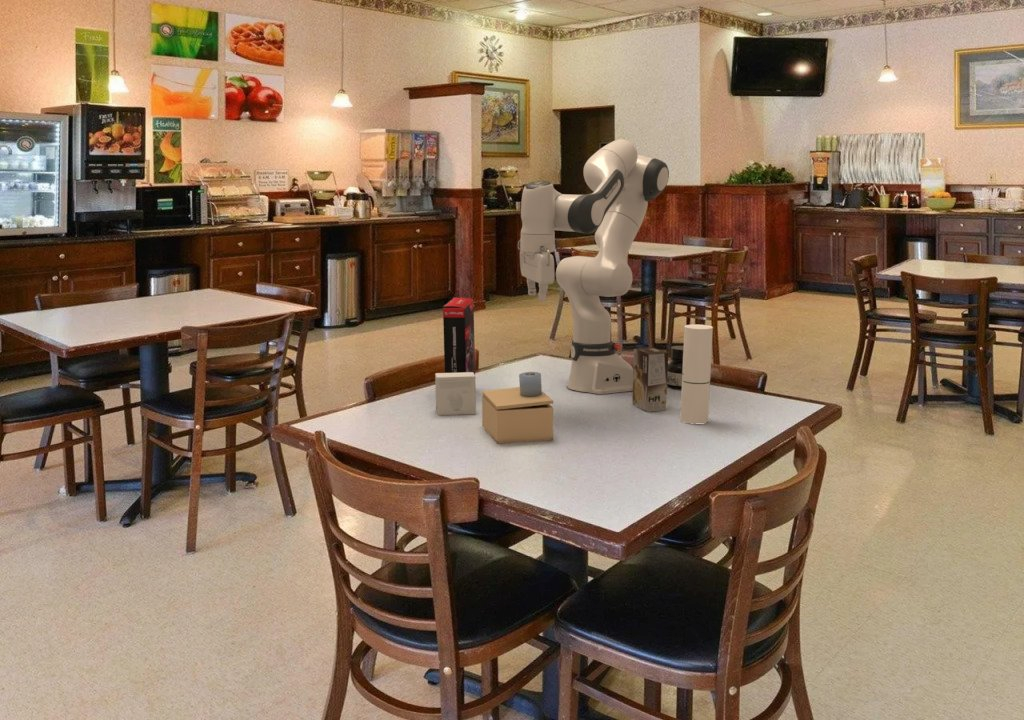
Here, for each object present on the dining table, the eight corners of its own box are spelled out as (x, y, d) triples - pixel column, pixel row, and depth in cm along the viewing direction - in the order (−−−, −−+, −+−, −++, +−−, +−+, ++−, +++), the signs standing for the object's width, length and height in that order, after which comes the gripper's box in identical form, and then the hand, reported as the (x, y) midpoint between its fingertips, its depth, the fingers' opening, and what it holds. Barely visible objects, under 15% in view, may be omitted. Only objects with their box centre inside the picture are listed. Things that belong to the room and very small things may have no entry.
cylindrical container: (704, 417, 248) (709, 324, 243) (710, 424, 241) (715, 329, 236) (677, 417, 248) (681, 324, 243) (683, 424, 241) (687, 329, 236)
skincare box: (473, 408, 256) (473, 371, 254) (476, 414, 250) (476, 376, 248) (435, 409, 254) (434, 372, 252) (436, 415, 248) (436, 377, 246)
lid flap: (535, 388, 240) (535, 385, 240) (553, 403, 225) (553, 400, 225) (482, 394, 237) (481, 391, 237) (496, 409, 222) (496, 406, 222)
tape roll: (538, 390, 235) (538, 370, 234) (544, 395, 230) (543, 374, 229) (517, 392, 234) (517, 372, 233) (522, 397, 229) (521, 376, 228)
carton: (534, 422, 242) (535, 392, 241) (552, 439, 227) (553, 407, 225) (482, 425, 239) (482, 395, 237) (496, 443, 224) (496, 410, 222)
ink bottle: (658, 385, 285) (660, 346, 282) (680, 381, 289) (681, 343, 287) (681, 391, 277) (682, 352, 274) (702, 388, 281) (704, 349, 279)
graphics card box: (467, 402, 263) (467, 305, 257) (443, 401, 263) (442, 305, 258) (475, 388, 279) (475, 297, 274) (452, 387, 280) (452, 297, 274)
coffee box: (667, 410, 255) (669, 352, 252) (646, 412, 253) (648, 354, 250) (651, 402, 264) (653, 346, 261) (630, 404, 262) (632, 348, 258)
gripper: (561, 247, 234) (560, 302, 237) (538, 241, 254) (538, 292, 256) (536, 248, 233) (536, 303, 236) (516, 242, 252) (515, 293, 255)
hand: (536, 297), depth 246 cm, fingers open, 8 cm apart
